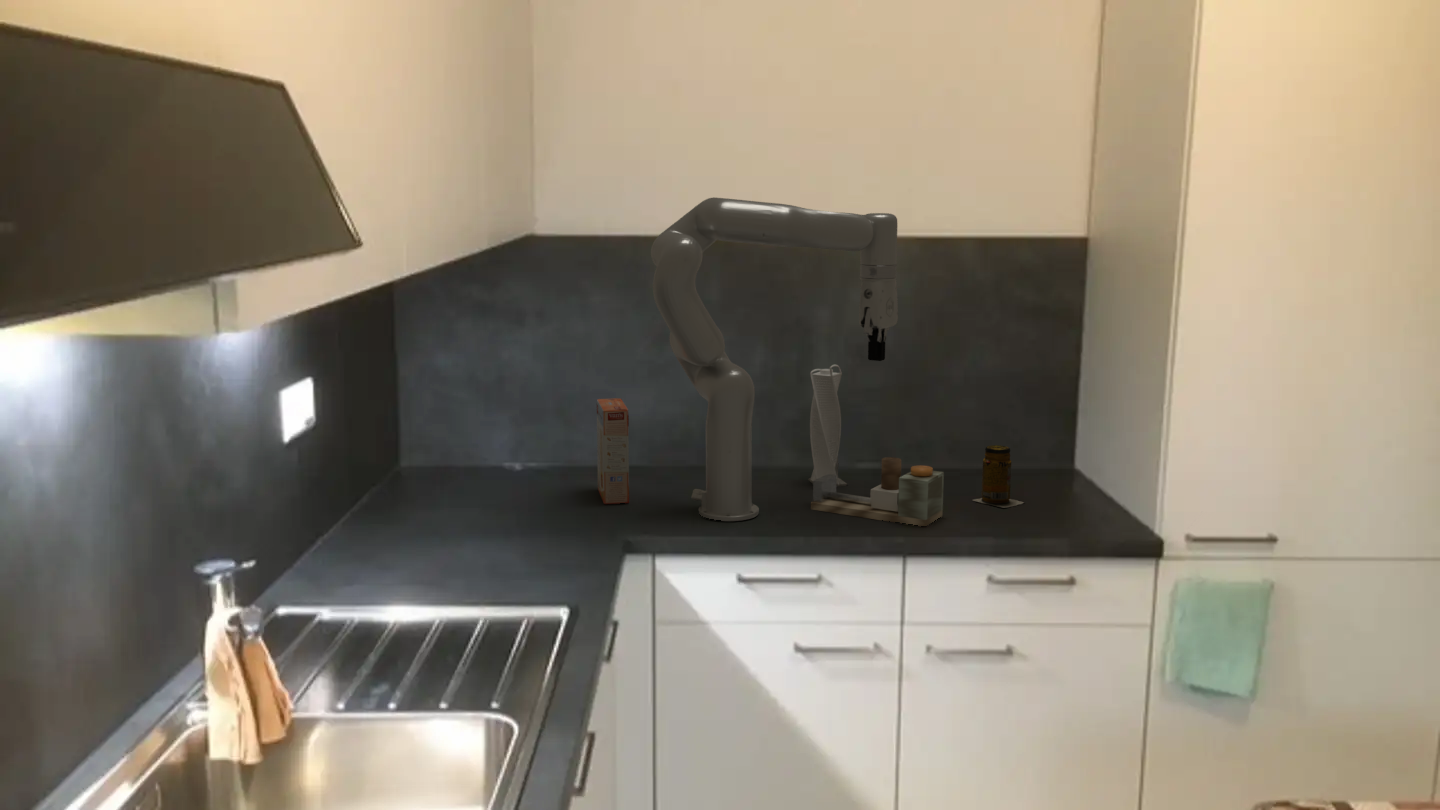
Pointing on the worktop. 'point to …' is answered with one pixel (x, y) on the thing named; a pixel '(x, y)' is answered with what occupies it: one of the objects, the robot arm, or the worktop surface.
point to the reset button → (921, 471)
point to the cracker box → (613, 450)
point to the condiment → (997, 477)
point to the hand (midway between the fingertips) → (876, 359)
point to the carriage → (887, 486)
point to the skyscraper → (825, 423)
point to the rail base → (914, 507)
